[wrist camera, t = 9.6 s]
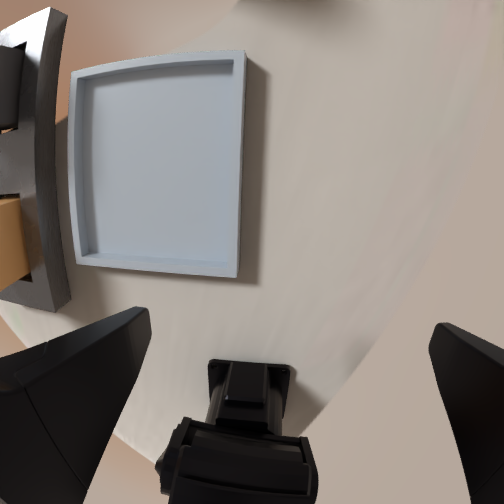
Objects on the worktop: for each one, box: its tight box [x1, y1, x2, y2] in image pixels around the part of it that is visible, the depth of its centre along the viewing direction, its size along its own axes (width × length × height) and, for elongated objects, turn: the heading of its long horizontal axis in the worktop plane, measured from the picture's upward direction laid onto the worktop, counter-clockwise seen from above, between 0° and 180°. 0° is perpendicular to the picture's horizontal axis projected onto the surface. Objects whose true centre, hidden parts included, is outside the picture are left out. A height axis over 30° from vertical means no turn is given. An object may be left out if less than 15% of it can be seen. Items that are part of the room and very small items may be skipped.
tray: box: [67, 50, 247, 278], centre depth 19 cm, size 14×12×2 cm
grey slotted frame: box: [0, 7, 71, 313], centre depth 19 cm, size 24×9×2 cm, turn 178°
